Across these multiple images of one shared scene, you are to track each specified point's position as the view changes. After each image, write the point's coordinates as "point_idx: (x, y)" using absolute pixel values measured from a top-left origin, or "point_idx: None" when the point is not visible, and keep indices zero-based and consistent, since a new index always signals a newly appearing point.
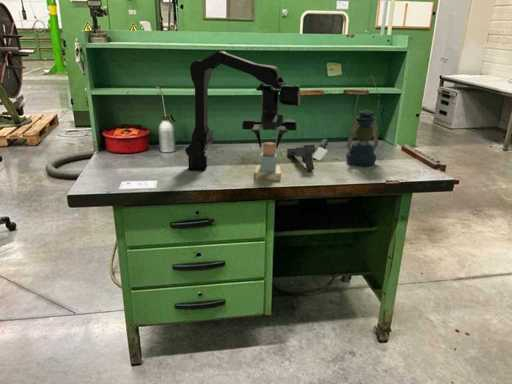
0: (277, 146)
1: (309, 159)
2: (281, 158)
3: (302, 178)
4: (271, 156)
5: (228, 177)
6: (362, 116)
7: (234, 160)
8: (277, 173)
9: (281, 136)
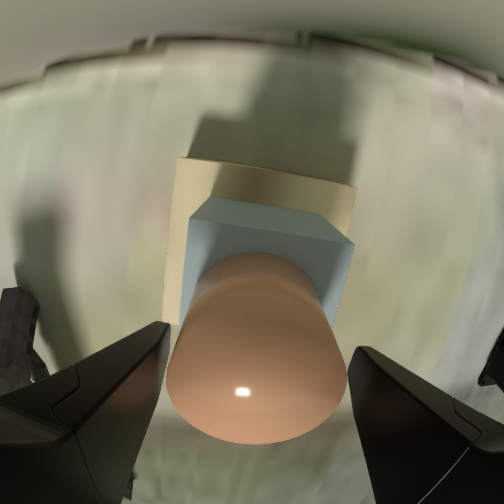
0: (147, 329)
1: (1, 337)
2: (154, 460)
3: (62, 187)
4: (239, 247)
5: (459, 240)
6: None
7: (360, 449)
8: (201, 161)
9: (16, 392)
